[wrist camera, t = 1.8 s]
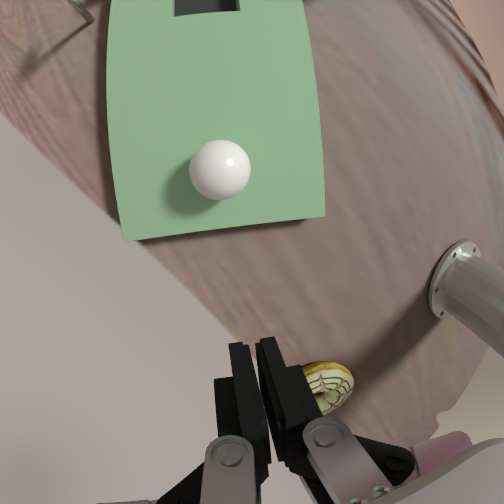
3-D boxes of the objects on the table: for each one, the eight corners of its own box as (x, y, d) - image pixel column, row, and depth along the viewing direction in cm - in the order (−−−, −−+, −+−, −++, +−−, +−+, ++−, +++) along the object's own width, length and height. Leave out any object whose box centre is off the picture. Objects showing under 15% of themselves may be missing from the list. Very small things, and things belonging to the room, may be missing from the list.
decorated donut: (258, 396, 34) (263, 416, 31) (312, 344, 32) (322, 363, 29) (309, 413, 37) (316, 430, 34) (358, 369, 35) (369, 385, 32)
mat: (285, -37, 16) (298, -62, 11) (315, 211, 26) (339, 224, 21) (122, -23, 14) (110, -48, 9) (131, 234, 24) (114, 253, 19)
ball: (243, 139, 21) (252, 134, 17) (248, 192, 23) (257, 200, 18) (188, 145, 21) (183, 141, 16) (194, 199, 22) (191, 208, 18)
